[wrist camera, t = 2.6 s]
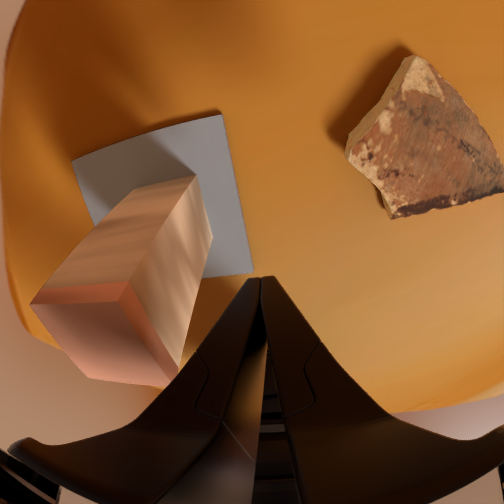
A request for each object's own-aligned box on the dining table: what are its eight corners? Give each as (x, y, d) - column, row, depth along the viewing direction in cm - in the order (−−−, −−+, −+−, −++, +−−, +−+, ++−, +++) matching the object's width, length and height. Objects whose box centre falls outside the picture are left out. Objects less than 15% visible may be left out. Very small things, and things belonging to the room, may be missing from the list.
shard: (503, 180, 14) (519, 191, 12) (440, 262, 18) (452, 278, 16) (405, 50, 10) (424, 47, 9) (322, 163, 15) (331, 174, 13)
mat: (253, 269, 18) (253, 272, 18) (124, 283, 19) (123, 286, 19) (222, 113, 13) (221, 114, 13) (74, 159, 14) (71, 161, 14)
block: (212, 237, 17) (174, 386, 8) (154, 245, 17) (88, 377, 9) (196, 174, 14) (117, 301, 6) (134, 188, 15) (29, 304, 6)
